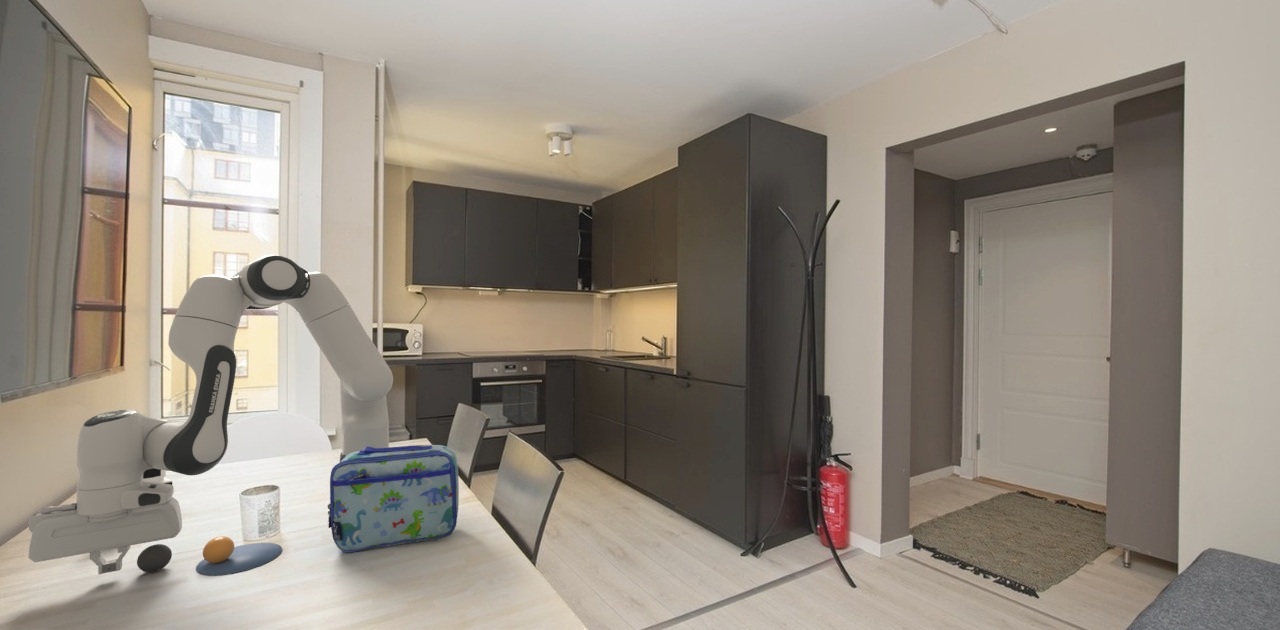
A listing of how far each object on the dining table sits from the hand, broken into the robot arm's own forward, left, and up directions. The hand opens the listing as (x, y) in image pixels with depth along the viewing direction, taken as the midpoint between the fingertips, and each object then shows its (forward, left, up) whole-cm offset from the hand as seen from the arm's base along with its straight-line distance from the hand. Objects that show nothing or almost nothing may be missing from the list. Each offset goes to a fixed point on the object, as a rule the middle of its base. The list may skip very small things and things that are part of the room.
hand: (110, 571), depth 98 cm
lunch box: (-49, +4, -2) cm, 49 cm away
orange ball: (-16, 0, +1) cm, 16 cm away
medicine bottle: (+8, -44, -2) cm, 45 cm away
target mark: (-20, 0, -2) cm, 20 cm away
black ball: (-6, -1, +1) cm, 6 cm away
